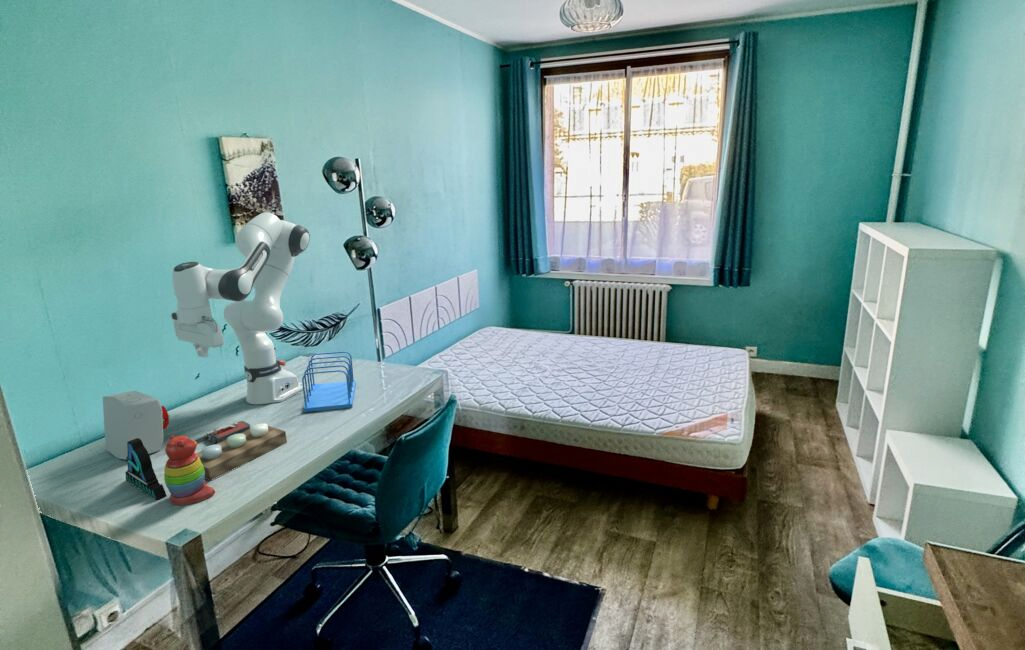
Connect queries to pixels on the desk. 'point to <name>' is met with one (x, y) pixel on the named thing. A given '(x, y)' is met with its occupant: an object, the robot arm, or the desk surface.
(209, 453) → the grey knob
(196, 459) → the stacking bear
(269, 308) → the robot arm
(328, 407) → the file sorter
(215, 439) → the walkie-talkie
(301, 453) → the desk surface
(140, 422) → the electrical switch box
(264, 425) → the cream knob
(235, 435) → the sage knob
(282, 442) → the knob panel
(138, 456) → the decorative sign
